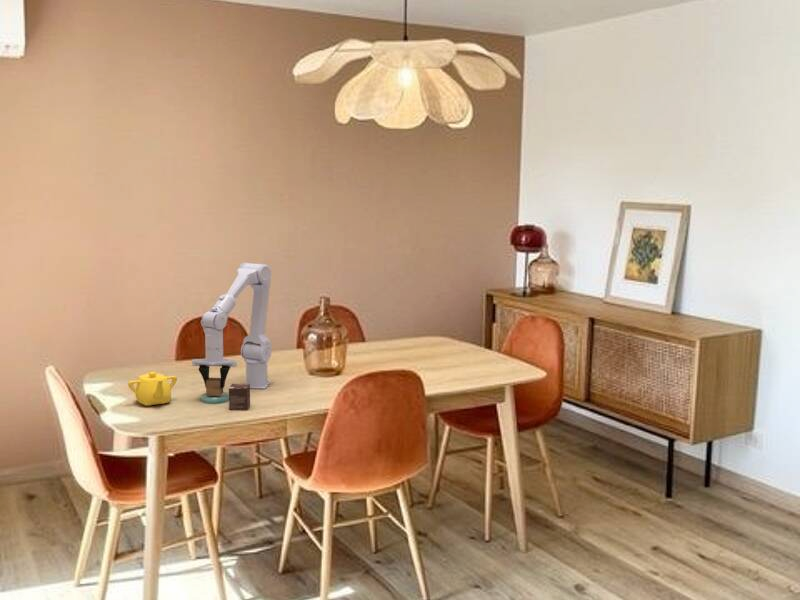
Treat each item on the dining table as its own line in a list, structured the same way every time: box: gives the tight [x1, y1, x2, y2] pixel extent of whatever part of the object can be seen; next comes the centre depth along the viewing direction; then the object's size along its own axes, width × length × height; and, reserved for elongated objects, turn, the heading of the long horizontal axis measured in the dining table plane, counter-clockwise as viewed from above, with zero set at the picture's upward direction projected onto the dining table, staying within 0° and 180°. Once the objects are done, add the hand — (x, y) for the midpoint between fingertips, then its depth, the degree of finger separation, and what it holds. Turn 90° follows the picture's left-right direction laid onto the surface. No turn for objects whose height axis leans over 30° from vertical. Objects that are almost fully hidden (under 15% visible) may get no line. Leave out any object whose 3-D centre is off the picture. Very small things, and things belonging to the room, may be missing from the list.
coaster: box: [200, 391, 229, 405], centre depth 274 cm, size 9×9×2 cm
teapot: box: [127, 371, 178, 407], centre depth 269 cm, size 14×13×10 cm
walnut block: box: [205, 377, 224, 396], centre depth 273 cm, size 4×4×5 cm
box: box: [228, 383, 251, 411], centre depth 266 cm, size 6×6×7 cm
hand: (215, 387), depth 273 cm, fingers closed on walnut block, 4 cm apart
